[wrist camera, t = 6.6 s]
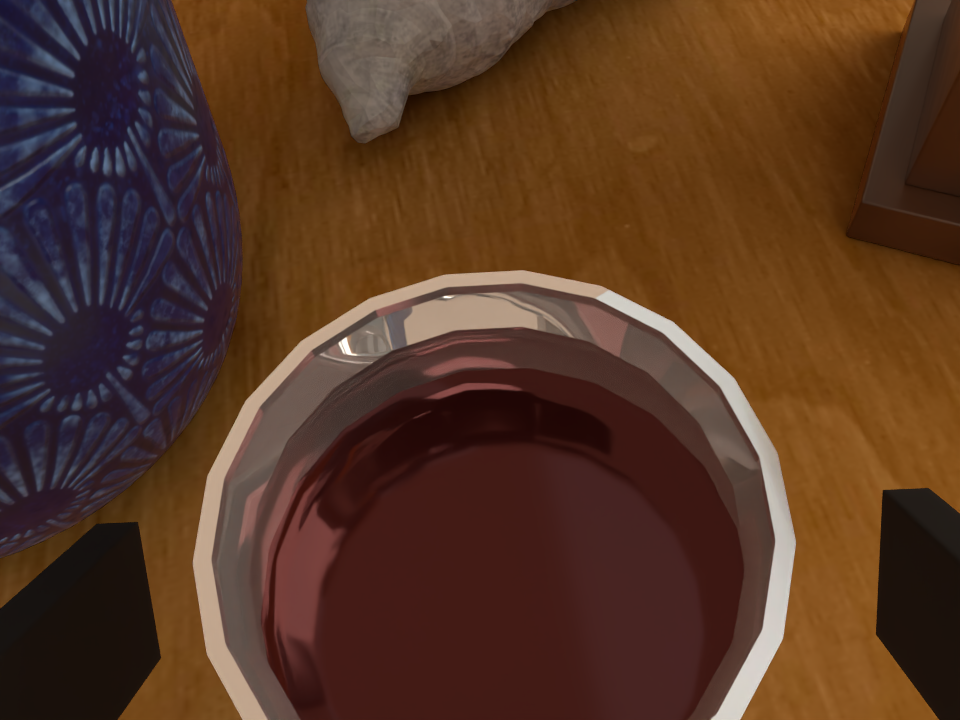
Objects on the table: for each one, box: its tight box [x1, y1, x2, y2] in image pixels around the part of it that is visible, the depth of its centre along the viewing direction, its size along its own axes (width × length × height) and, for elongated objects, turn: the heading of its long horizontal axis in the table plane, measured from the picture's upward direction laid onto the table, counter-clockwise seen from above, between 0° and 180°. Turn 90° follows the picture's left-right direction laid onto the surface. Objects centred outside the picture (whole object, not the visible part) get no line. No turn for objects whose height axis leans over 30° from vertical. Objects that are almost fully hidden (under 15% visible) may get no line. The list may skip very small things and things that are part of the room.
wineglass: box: [193, 270, 796, 720], centre depth 15 cm, size 7×7×12 cm
